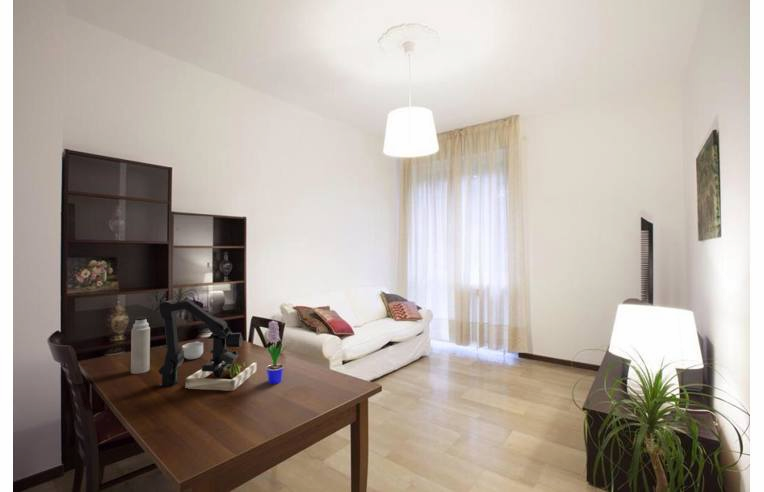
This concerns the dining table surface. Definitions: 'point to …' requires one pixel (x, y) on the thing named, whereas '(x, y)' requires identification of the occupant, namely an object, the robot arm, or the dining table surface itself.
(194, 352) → the teacup
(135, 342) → the thermos bottle
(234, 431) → the dining table surface
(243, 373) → the pale wooden open frame
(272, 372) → the hyacinth
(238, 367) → the passion flower
